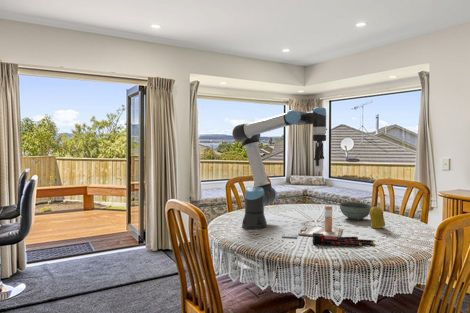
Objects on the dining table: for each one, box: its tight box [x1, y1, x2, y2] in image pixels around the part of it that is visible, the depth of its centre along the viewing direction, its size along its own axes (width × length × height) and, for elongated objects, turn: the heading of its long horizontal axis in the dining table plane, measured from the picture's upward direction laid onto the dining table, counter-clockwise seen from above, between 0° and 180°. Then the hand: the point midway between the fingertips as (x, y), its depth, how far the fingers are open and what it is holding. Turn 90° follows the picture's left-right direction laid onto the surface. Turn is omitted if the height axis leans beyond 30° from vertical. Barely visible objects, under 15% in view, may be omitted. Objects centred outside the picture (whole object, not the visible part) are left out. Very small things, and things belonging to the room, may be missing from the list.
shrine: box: [368, 204, 386, 230], centre depth 202 cm, size 12×8×15 cm
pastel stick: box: [324, 205, 333, 232], centre depth 193 cm, size 4×4×14 cm
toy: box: [311, 233, 376, 247], centre depth 172 cm, size 8×5×30 cm
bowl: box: [338, 201, 373, 222], centre depth 227 cm, size 21×21×10 cm
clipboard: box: [297, 225, 343, 238], centre depth 194 cm, size 22×20×2 cm
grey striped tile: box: [281, 233, 298, 239], centre depth 187 cm, size 8×6×1 cm
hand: (319, 170), depth 200 cm, fingers open, 13 cm apart
